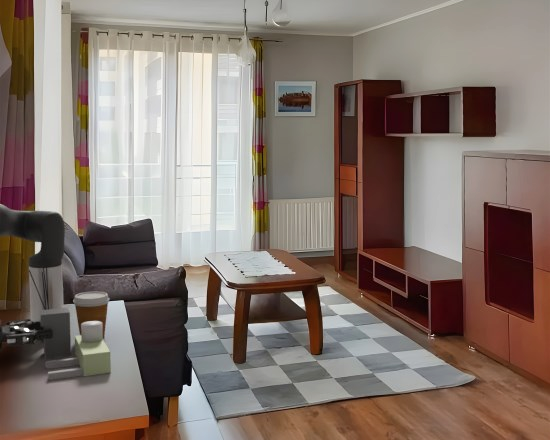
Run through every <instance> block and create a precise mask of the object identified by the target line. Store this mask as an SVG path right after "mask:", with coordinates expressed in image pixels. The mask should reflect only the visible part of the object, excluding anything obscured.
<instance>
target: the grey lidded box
mask: <svg viewBox="0 0 550 440" xmlns="http://www.w3.org/2000/svg"><path fill="white" fill-rule="evenodd" d="M39 319H40V325H41V327H43V330H46V329H52V330H53V338H51V339H43V355H44V359H49V358H51V359H53V358H60V357H66V356H67V357H68V356H71V355H72V348H71V347H72V346H71V343H72V342H71V341H72V340H71V339H72V338H71V312H70V310H69V308H68V307H63V308H59V309H48V310H39Z"/></svg>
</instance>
